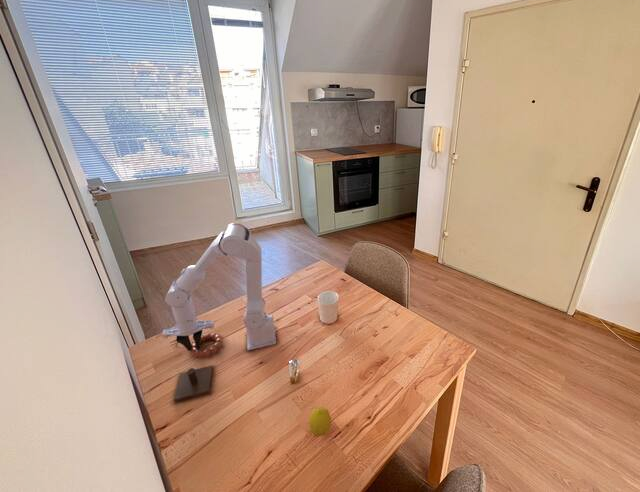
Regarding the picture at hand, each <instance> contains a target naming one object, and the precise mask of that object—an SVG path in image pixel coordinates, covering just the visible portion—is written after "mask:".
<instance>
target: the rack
mask: <svg viewBox="0 0 640 492" xmlns="http://www.w3.org/2000/svg"><path fill="white" fill-rule="evenodd" d="M212 377H213V365H208V366H204V367H199V368H193V367H190V368H189V369H188V370H186V371H184V372H180V373H179V375H178V380H177V383H176V384H177V385H176V388H175V393H174V396H173V402H174V403H179V402H183V401H186V400H190V399H194V398H196V397H201V396H204V395H209V394H210V392H211V384H212Z"/></svg>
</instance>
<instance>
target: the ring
mask: <svg viewBox="0 0 640 492" xmlns="http://www.w3.org/2000/svg"><path fill="white" fill-rule="evenodd" d="M300 365H301V363H300V358H299V357H294V358H292V359H291V360H290V361H289V362H288V367H289V379H290V380H289V381H290V384H291V385H296V383H297V381H298V380H299V379H298V378H299V375H300V374H299V373H300ZM293 370H294V373H293Z"/></svg>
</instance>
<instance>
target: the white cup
mask: <svg viewBox="0 0 640 492" xmlns="http://www.w3.org/2000/svg"><path fill="white" fill-rule="evenodd" d="M317 307H318V313H319V320H320V322H321V323H324V324H327V325H329V324H333V323H334V322H336V320H338V313H339V294H338V293H337V292H336V291H333V290H324V291H322V292H321V293H319V294H318V295H317Z"/></svg>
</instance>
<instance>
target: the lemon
mask: <svg viewBox="0 0 640 492" xmlns="http://www.w3.org/2000/svg"><path fill="white" fill-rule="evenodd" d="M308 424H309V425H308V426H309V429H310V431H311V432H312V435H313V434H314V436H317V437H322V436H324V435H326V434H327V433H328V432H329V430H330V428H331V425H332V417H331V414H330V412H329V410H328V409H327V408H325V407H322V406H320V407H316V408H315V409H313V411H312V412H311V413H310V417H309V421H308Z"/></svg>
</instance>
